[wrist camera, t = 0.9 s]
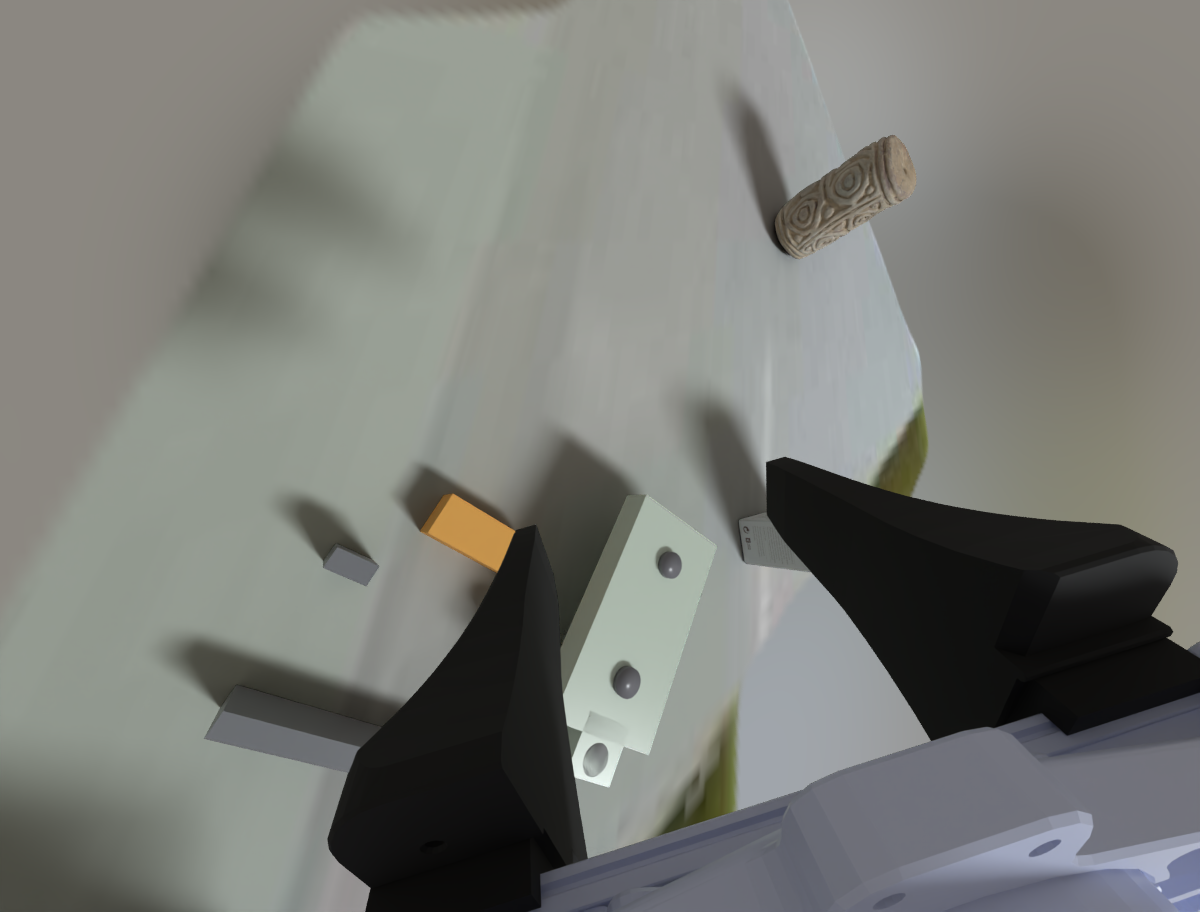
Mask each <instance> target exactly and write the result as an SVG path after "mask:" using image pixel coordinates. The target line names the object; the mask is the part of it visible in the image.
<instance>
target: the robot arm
mask: <svg viewBox="0 0 1200 912" xmlns="http://www.w3.org/2000/svg"><path fill="white" fill-rule="evenodd" d="M766 487H767V516H768V518H769V519H770V521H771V523H772V524H773V526H774V527H775V529H776V530H777V532H778V533H779V535H780V536H781V538H782V539H783V540H784V542H785V543H786V544H787V545H788V546H789V548H790V549H791V550H792V551H793V552H794V553H795V554H796V556H797V557H798V558H799V559H800V560H801V561H802V562H803V564H804V565H805V566H806V567H807V568H808V569H809V570H810V571H811V572H812V574H813V575H814V576H815V577H816V578H817V579H818V580H819V581H820V583H821V584H822V585H823V586H824V587H825V588H826V589H827V590H828V591H829V593H830V594H831V595H832V596H833V597H834V598H835V599H836V601H837V602H838V603H839V604H840V606H841V607H842V608H843V609H844V610H845V612H846V613H847V614H848V616H849V617H850V618H851V620H852V621H853V623H854V624H855V625H856V627H857V628H858V630H859V631H860V632H861V634H862V635H863V637H864V638H865V639H866V641H867V642H868V644H869V645H870V647H871V648H872V649H873V651H874V652H875V654H876V655H877V657H878V658H879V660H880V661H881V663H882V664H883V665H884V667H885V668H886V670H887V671H888V673H889V674H890V676H891V678H892V679H893V681H894V682H895V684H896V685H897V687H898V688H899V690H900V691H901V693H902V694H903V696H904V697H905V699H906V701H907V702H908V704H909V705H910V707H911V708H912V710H913V712H914V713H915V715H916V717H917V718H918V720H919V722H920V723H921V725H922V727H923V728H924V730H925V732H926V733H927V735H928V737H929V738H930V740H931V741H930V742H927V743H924V744H921V745H918V746H915V747H912V748H909V749H905V750H902V751H899V752H896V753H893V754H890V755H887V756H884V757H880V758H878V759H874V760H871V761H868V762H865V763H862V764H859V765H856V766H852V767H849V768H846V769H843V770H840V771H837V772H835V773H833V774H830V775H828V776H826V777H824V778H822V779H819V780H817V781H815V782H813V783H811V784H810V785H808V786H807V787H806V788H805V789H803V790H800V791H797V792H794V793H791V794H788V795H785V796H782V797H779V798H776V799H772V800H769V801H767V802H763V803H760V804H757V805H754V806H751V807H748V808H745V809H741V810H738V811H735V812H732V813H729V814H726V815H723V816H720V817H716V818H713V819H710V820H707V821H704V822H701V823H698V824H695V825H692V826H688V827H685V828H682V829H679V830H676V831H673V832H670V833H667V834H664V835H660V836H657V837H654V838H651V839H648V840H645V841H642V842H639V843H636V844H632V845H629V846H626V847H623V848H620V849H617V850H614V851H611V852H607V853H604V854H601V855H598V856H595V857H592V858H589V859H588V858H587V852H586V845H585V839H584V833H583V827H582V821H581V815H580V809H579V802H578V796H577V790H576V783H575V777H574V770H573V763H572V756H571V750H570V743H569V736H568V729H567V721H566V714H565V707H564V699H563V690H562V678H561V652H560V626H559V605H558V599H557V592H556V586H555V580H554V574H553V572H552V569H551V566H550V563H549V560H548V557H547V554H546V551H545V549H544V546H543V543H542V540H541V537H540V534H539V531H538V528H537V526H536V525H533V526H530V527H526V528H522V529H519V530H516V531H515V533H514V534H513V537H512V539H511V542H510V545H509V547H508V549H507V552H506V554H505V557H504V559H503V561H502V563H501V566H500V568H499V570H498V572H497V574H496V576H495V578H494V580H493V582H492V584H491V586H490V588H489V590H488V592H487V594H486V596H485V597H484V599H483V601H482V603H481V605H480V607H479V608H478V610H477V612H476V613H475V615H474V617H473V618H472V620H471V622H470V623H469V625H468V626H467V628H466V629H465V631H464V632H463V634H462V635H461V637H460V638H459V640H458V641H457V642H456V644H455V645H454V646H453V648H452V649H451V650H450V652H449V653H448V654H447V656H446V657H445V658H444V659H443V661H442V662H441V663H440V665H439V666H438V667H437V668H436V670H435V671H434V672H433V673H432V675H431V676H430V677H429V678H428V679H427V680H426V681H425V683H424V684H423V685H422V686H421V687H420V688H419V689H418V691H417V692H416V693H415V694H414V695H413V696H412V697H411V698H410V699H409V700H408V701H407V703H406V704H405V705H404V706H403V707H402V708H401V709H400V710H399V711H398V712H397V713H396V714H395V715H394V716H393V717H392V718H391V719H390V720H389V721H388V722H387V723H386V724H385V725H384V726H383V727H382V728H381V729H380V730H379V731H378V732H377V733H375V734H374V735H373V736H372V737H371V738H370V739H369V740H368V741H367V742H366V743H365V744H364V745H363V746H362V747H361V748H360V749H359V750H358V751H357V753H356V755H355V758H354V760H353V763H352V765H351V768H350V770H349V773H348V775H347V778H346V782H345V785H344V788H343V791H342V794H341V797H340V800H339V804H338V807H337V810H336V813H335V816H334V820H333V823H332V826H331V829H330V832H329V835H328V839H327V840H328V846H329V850H330V852H331V853H332V855H333V856H334V857H335V858H336V859H337V861H338V862H339V863H340V864H341V865H343V866H344V867H345V868H346V869H348V870H349V871H350V872H351V873H353V874H354V875H355V876H356V877H358V878H359V879H360V880H361V881H363V882H364V883H365V884H366V885H368V886H369V887H370V888H371V889H370V893H369V898H368V902H367V906H366V911H365V912H1200V642H1198V643H1196V644H1195V645H1193V646H1192V647H1190V648H1189V649H1188V650H1186V649H1184V648H1182V647H1181V646H1179V645H1177V644H1176V643H1174V642H1173V641H1171V640H1169V639H1168V638H1166V637H1169V636H1171V634H1172V633H1173V631H1172V629H1171V627H1169V626H1168V625H1166V624H1164V623H1163V622H1161V621H1159V620H1157V619H1156V618H1154V617H1152V616H1151V615H1152V614H1153V612H1154V610H1155V609H1156V607H1157V606H1158V604H1159V602H1160V601H1161V599H1162V598H1163V596H1164V595H1165V593H1166V591H1167V590H1168V588H1169V587H1170V585H1171V583H1172V581H1173V579H1174V577H1175V575H1176V573H1177V566H1178V561H1177V558H1176V556H1175V553H1174V551H1173V550H1171V549H1170V548H1168V547H1166V546H1164V545H1162V544H1160V543H1158V542H1156V541H1154V540H1152V539H1150V538H1148V537H1146V536H1143V535H1141V534H1139V533H1137V532H1135V531H1133V530H1131V529H1129V528H1127V527H1124V526H1122V525H1117V524H1102V523H1086V522H1071V521H1056V520H1046V519H1036V518H1027V517H1018V516H1010V515H1002V514H995V513H988V512H982V511H976V510H970V509H965V508H958V507H953V506H948V505H943V504H938V503H934V502H930V501H925V500H921V499H917V498H912V497H908V496H904V495H901V494H897V493H893V492H890V491H887V490H883V489H880V488H877V487H873V486H870V485H867V484H864V483H861V482H858V481H855V480H852V479H849V478H846V477H843V476H840V475H837V474H834V473H831V472H829V471H826V470H823V469H820V468H817V467H815V466H812V465H809V464H806V463H803V462H800V461H797V460H794V459H791V458H787V457H783V458H779V459H776V460H772V461H768V462H766Z"/></svg>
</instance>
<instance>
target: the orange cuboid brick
mask: <svg viewBox="0 0 1200 912" xmlns="http://www.w3.org/2000/svg"><path fill="white" fill-rule="evenodd" d="M420 532H422V533H424V534H426V535H427V536H429V537H431V538H433V539H435V540H437V541H439V542H440V543H442V544H444V545H446V546H448V547H450V548H451V549H453V550H455V551H457V552H459V553H461V554H463V555H464V556H466V557H468V558H470V559H472V560H474V561H475V562H477V563H479V564H481V565H483V566H485V567H487V568H488V569H490V570H492V571H494V572H496V573H497V572H498V570H499V568H500V566H501V563H502V561H503V559H504V557H505V554H506V552H507V549H508V547H509V545H510V542H511V539H512V537H513V534H514V533H515V531H514V530H513V529H511V528H509V527H508V526H506V525H504V524H503V523H501V522H499V521H498V520H496V519H494V518H493V517H491V516H489V515H488V514H486V513H484V512H483V511H481V510H479V509H478V508H476V507H474V506H473V505H471V504H469V503H468V502H466V501H464V500H463V499H461V498H459V497H458V496H456V495H454V494H447V495H443V497H442V498H441V500H440V501H439V503H438V504H437V506H436V507H435V509H434V510H433V512H432V513H431V515H430V517H429V518H428V520H427V521H426V523H425V524H424V526H423V527H422V529H421V530H420Z"/></svg>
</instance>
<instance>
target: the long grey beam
mask: <svg viewBox="0 0 1200 912" xmlns="http://www.w3.org/2000/svg"><path fill="white" fill-rule="evenodd" d="M323 568H325V569H327V570H330V571H332V572H334V573H336V574H339V575H341V576H343V577H346V578H348V579H350V580H353V581H355V582H357V583H360V584H362V585H364V586H367V585H368V583H369V581H370V580H371V578H372V577H373V575H374V574H375V572H376V571H377V569H378V568H379V565H378V564H377V563H376V562H375V561H374V560H372V559H370V558H367V557H365V556H363V555H361V554H359V553H357V552H354V551H352V550H350V549H348V548H346V547H343V546H341V545H339V544H337V543H336V544H335V545H334V546H333V548H332V549H331V551H330V552H329V554H328V555H327V556H326V558H325V559H324V561H323ZM560 648H561V646H560ZM381 728H382V727H380V726H377V725H373V724H370V723H366V722H363V721H360V720H356V719H353V718H349V717H346V716H342V715H339V714H336V713H332V712H329V711H325V710H322V709H318V708H315V707H312V706H308V705H305V704H301V703H298V702H294V701H291V700H287V699H284V698H281V697H277V696H274V695H270V694H267V693H263V692H260V691H257V690H253V689H250V688H246V687H243V686H239V685H236V686H235V688H234V689H233V690H232V692H231V693H230V695H229V696H228V698H227V699H226V700H225V702H224V703H223V705H222V706H221V707H220V709H219V711H218V713H217V715H216V717H215V719H214V721H213V722H212V724H211V726H210V728H209V730H208V732H207V734H206V736H205V738H204V739H207V740H212V741H216V742H220V743H224V744H229V745H233V746H237V747H241V748H246V749H250V750H254V751H258V752H262V753H267V754H271V755H275V756H279V757H284V758H288V759H292V760H296V761H301V762H305V763H309V764H313V765H318V766H322V767H326V768H330V769H335V770H339V771H343V772H347V773H349V770H350V768H351V765H352V763H353V760H354V758H355V755H356V753H357V751H358V750H359V749H360V748H361V747H362V746H363V745H364V744H365V743H366V742H367V741H368V740H369V739H370V738H371V737H372V736H373V735H374V734H375V733H377V732H378V731H379V730H380V729H381Z"/></svg>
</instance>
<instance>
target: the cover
mask: <svg viewBox="0 0 1200 912" xmlns="http://www.w3.org/2000/svg"><path fill="white" fill-rule="evenodd" d="M716 548H717V546H716V545H715V544H714V543H712V542H711V541H710V540H708V539H707V538H705V537H704V536H703V535H701V534H700V533H699V532H697V531H696V530H695V529H693V528H692V527H690V526H689V525H688V524H686V523H685V522H684V521H682V520H681V519H679V518H678V517H677V516H675V515H674V514H673V513H671V512H670V511H668V510H667V509H666V508H664V507H663V506H662V505H660V504H659V503H658V502H656V501H655V500H653V499H652V498H651V497H649V496H648V495H629V496H627V497H626V500H625V502H624V504H623V506H622V509H621V511H620V513H619V516H618V518H617V520H616V522H615V525H614V527H613V529H612V532H611V534H610V536H609V538H608V541H607V543H606V545H605V548H604V550H603V552H602V554H601V557H600V559H599V561H598V564H597V566H596V568H595V570H594V573H593V575H592V577H591V580H590V582H589V584H588V586H587V589H586V591H585V593H584V596H583V598H582V600H581V602H580V605H579V607H578V609H577V612H576V614H575V616H574V618H573V621H572V623H571V625H570V628H569V630H568V632H567V635H566V637H565V639H564V641H563V644H562V646H561V648H560V652H561V678H562V690H563V699H564V707H565V714H566V721H567V729H568V736H569V743H570V750H571V756H572V763H573V770H574V777H576V778H579V779H582V780H586V781H589V782H592V783H596V784H599V785H602V786H606V787H609V786H610V783H611V781H612V778H613V775H614V772H615V769H616V766H617V763H618V761H619V758H620V755H621V752H622V749H623V746H624V747H627V748H630V749H632V750H635V751H638V752H641V753H643V754H646V755H649V752H650V749H651V746H652V743H653V740H654V737H655V734H656V731H657V728H658V725H659V722H660V719H661V716H662V713H663V710H664V707H665V704H666V701H667V698H668V695H669V691H670V688H671V685H672V682H673V679H674V676H675V673H676V670H677V667H678V664H679V661H680V658H681V655H682V652H683V649H684V646H685V643H686V640H687V637H688V634H689V630H690V627H691V624H692V621H693V618H694V615H695V612H696V609H697V606H698V603H699V600H700V597H701V594H702V591H703V588H704V585H705V582H706V579H707V576H708V573H709V569H710V566H711V563H712V560H713V557H714V554H715V551H716Z"/></svg>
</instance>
